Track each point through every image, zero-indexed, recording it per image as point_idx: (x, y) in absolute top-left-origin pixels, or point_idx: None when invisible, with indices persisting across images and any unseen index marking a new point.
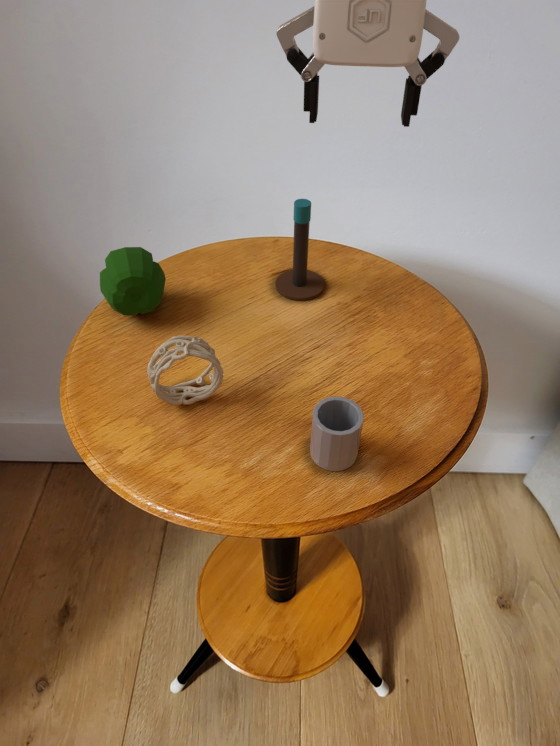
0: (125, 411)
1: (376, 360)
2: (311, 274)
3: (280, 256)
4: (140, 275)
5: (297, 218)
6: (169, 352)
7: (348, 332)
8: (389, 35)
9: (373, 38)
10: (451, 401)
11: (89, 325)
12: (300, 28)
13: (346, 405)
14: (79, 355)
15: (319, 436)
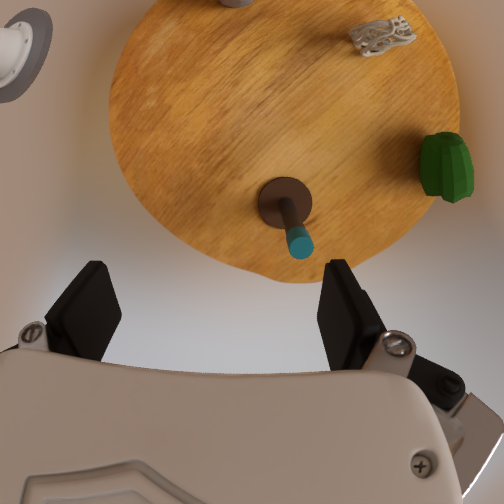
0: None
1: (197, 94)
2: (273, 220)
3: None
4: (451, 148)
5: (304, 230)
6: (405, 27)
7: (227, 131)
8: (29, 456)
9: (101, 472)
10: (133, 62)
11: None
12: (455, 466)
13: None
14: (456, 102)
15: None
